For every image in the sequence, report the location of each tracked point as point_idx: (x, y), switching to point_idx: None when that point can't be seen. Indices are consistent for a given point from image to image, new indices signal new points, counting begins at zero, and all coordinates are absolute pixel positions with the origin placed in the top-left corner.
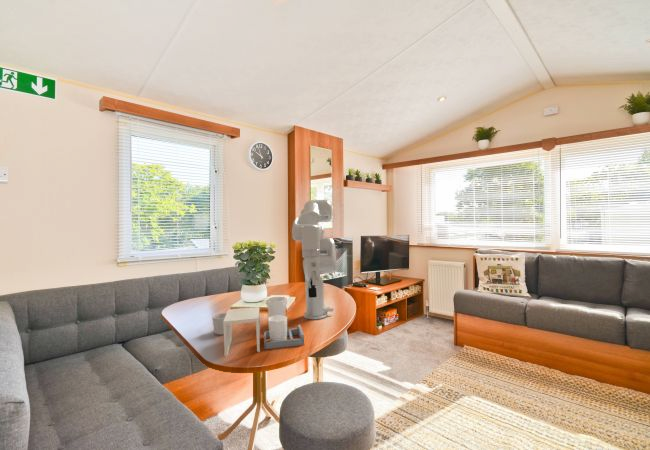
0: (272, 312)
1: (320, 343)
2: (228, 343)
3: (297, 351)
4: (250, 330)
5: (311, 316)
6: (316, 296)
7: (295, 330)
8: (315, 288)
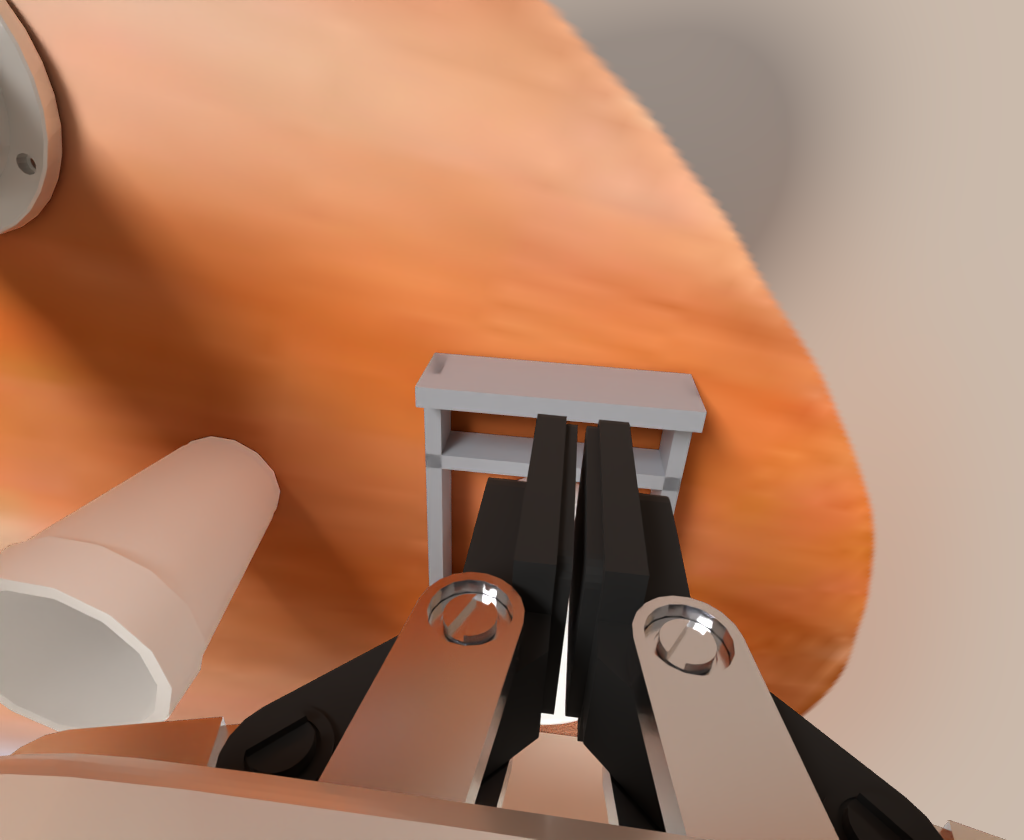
0: (220, 619)
1: (716, 230)
2: (572, 776)
3: (773, 438)
4: (287, 633)
5: (7, 161)
6: (629, 425)
7: (443, 411)
8: (643, 582)
